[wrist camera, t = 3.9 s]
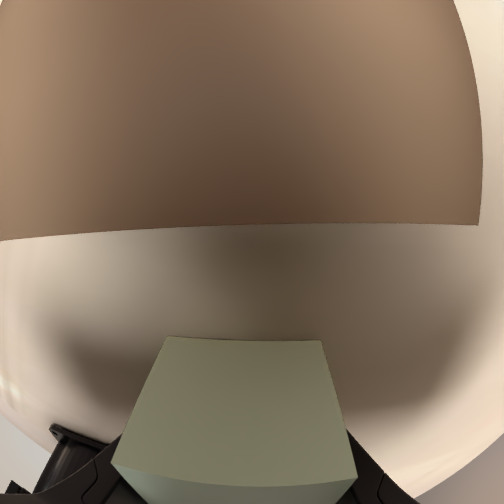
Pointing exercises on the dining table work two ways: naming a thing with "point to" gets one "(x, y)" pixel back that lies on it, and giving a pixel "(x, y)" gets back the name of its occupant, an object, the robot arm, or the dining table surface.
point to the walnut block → (235, 114)
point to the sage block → (237, 426)
